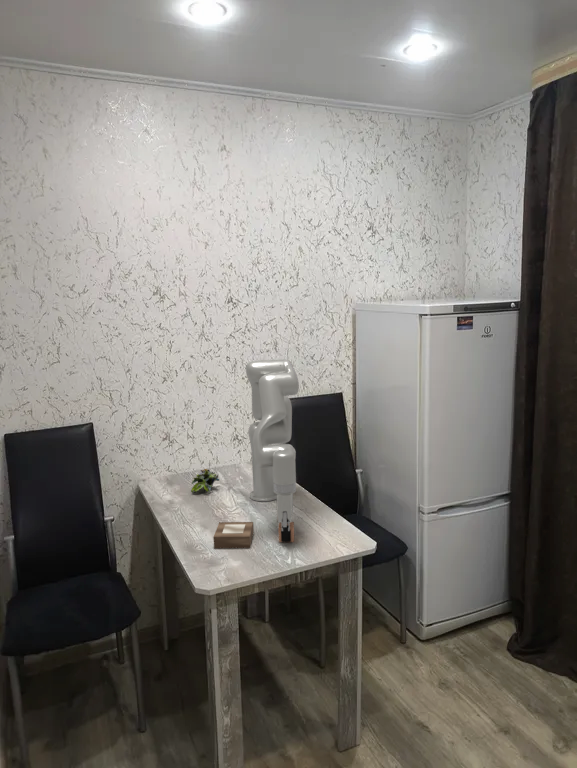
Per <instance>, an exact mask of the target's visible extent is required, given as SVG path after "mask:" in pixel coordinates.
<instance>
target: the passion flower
mask: <svg viewBox="0 0 577 768" xmlns="http://www.w3.org/2000/svg"><path fill="white" fill-rule="evenodd" d="M210 470H211V469H209V468H204V469H201V470H200V471H201V472H200V473H197V474H196V476H195V477H193V478H192V482H191V485H193V484H194V485H193V487H192V488H191V491H190V492H191V493H192V494H193V493H197V492H198V491H200V490H201V489H202V488H204V490H205V491H206V492H208V494H207V495H210V492H211V489H212V487H213V486H214V483H215V482H218V481H220V478H219V474H216V473H215V472H214V471H210Z"/></svg>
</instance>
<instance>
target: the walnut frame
mask: <svg viewBox="0 0 577 768" xmlns="http://www.w3.org/2000/svg"><path fill="white" fill-rule="evenodd" d="M253 533H255V531H254V522H253V521H226V522H225V521H221V522H219V523H218V525H217V528H216V530H215V532H214V534H213V537H212V538H213V549H250V548H251V547H252V546H251V545H252V541H253V538H254V534H253Z"/></svg>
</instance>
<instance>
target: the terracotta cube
mask: <svg viewBox="0 0 577 768" xmlns="http://www.w3.org/2000/svg"><path fill="white" fill-rule="evenodd" d="M287 525H288V524H287ZM281 530H282V527H281V522H279V523H278V530H277V531H278V543H283V542H282V541H281ZM290 530H291V542H290V543H294V542H295V522H294V521H291V522H290Z"/></svg>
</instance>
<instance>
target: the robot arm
mask: <svg viewBox="0 0 577 768" xmlns="http://www.w3.org/2000/svg"><path fill="white" fill-rule="evenodd" d="M245 374H246V377H247V379H248V382H249V384H250V387H251V413H252V417H253V418H254V419H255V420H257V421H256V422H253V423H252V424H250V425H249V427H248V438H249V444H250V450H251V466H252V469H251V470H252V471H251V472H252V487H253V488H252V491H250V493H249V498H250V499H251V500H252V501H255V502H272V501H275V500H276V523H277V524H279V522H281V527H282V530H281V541H282V542H281V543H292V542H291V530H290V522H293V521H292V519H293V509H294V508H293V507H294V502H293V501H294V500H293V499H294V496H293V495H294V494H295V493H296V492H297V477H296V476H297V473H296V471H297V470H296V458H297V457H296V455H297V454H296V453H297V452H296V449H295V447H293V446H294V445H292V444H289V442H290V441H291V439H292V431H293V430H292V427H293V426H292V425H293V424H292V422H293V421H292V419H293V417H292V416H293V408H292V402H291V401H292V400H291V399H290V397H289V396H295V395H297V394H298V393H299V390H300V383H299V378H298V375H297V371H295V369H294V366H293V364H292V362H291V361H290V360H289V359H285V358H284V359H282V358H281V359H263V360H253V361H249V362H248V363H247V364H246V367H245ZM287 524H288V525H287Z"/></svg>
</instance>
